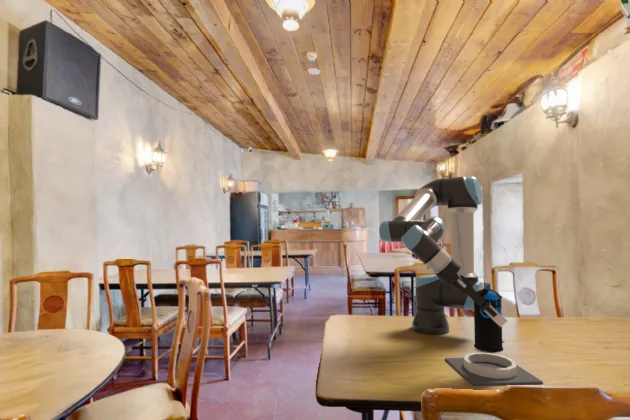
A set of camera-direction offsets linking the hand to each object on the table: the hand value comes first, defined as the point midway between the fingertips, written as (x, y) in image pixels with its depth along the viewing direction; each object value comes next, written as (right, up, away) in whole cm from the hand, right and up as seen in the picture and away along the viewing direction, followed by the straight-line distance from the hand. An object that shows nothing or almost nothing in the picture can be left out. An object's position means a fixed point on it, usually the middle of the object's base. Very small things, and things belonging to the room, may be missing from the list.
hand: (499, 319), depth 114 cm
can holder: (-3, -16, +1) cm, 16 cm away
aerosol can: (-3, -9, 0) cm, 9 cm away
